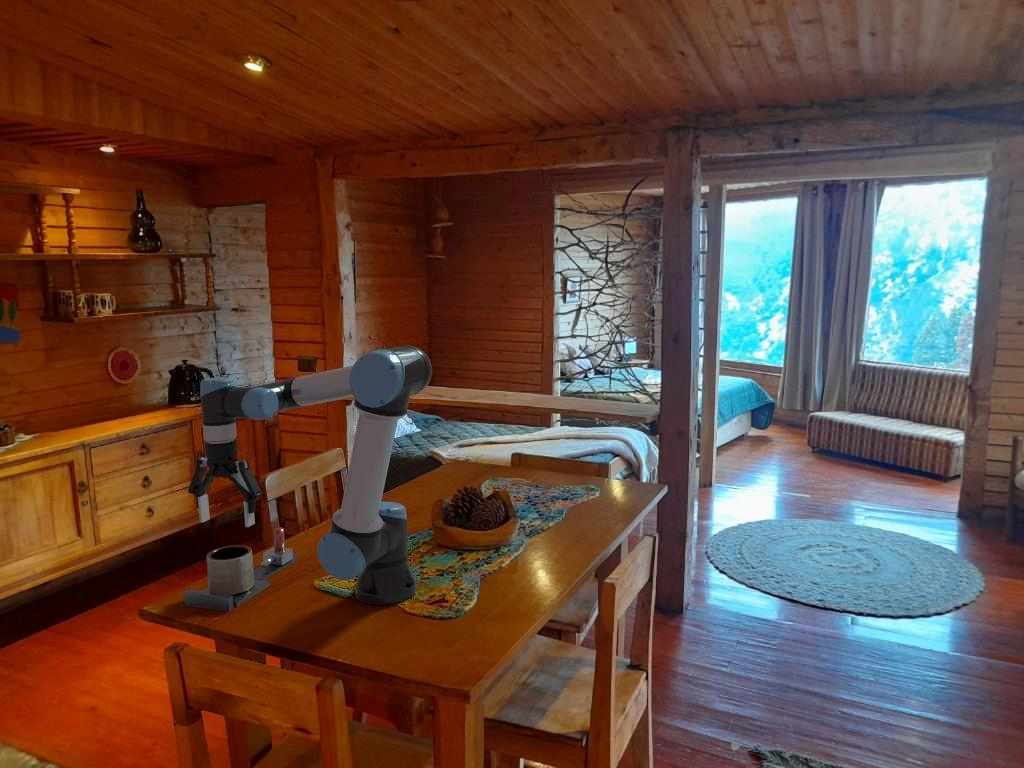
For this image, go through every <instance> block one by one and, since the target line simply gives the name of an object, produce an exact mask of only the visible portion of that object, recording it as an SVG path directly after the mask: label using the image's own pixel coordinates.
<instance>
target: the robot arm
mask: <svg viewBox="0 0 1024 768" xmlns="http://www.w3.org/2000/svg"><path fill="white" fill-rule="evenodd" d="M432 376H433V366H432V362H431V360H430V357H429V356H428V355H427V354H426V353H425V352H424V351H423V350H421V349H420V348H418V347H416V346H413V345H399V346H395V347H390V348H379V349H374V350H372V351H370V352H367V353H365V354H362V355H361V356H360V357H359V358H358V359H357V360H356V361H355V362H354V364H352V365H349V366H345V367H344V366H343V367H340V368H335V369H330V370H325V371H321V372H317V373H316V372H315V373H312V374H308V375H303V376H297V377H293V378H287V379H283V380H278V381H274V382H269V383H266V384H265V383H264V384H260V385H253V386H241V387H240V386H234V383H233V379H232V378H231V377H227V376H226V377H225V376H219V377H209V378H204V379H202V380H201V382H200V383H199V384H200V386H199V387H200V391H199V392H200V394H199V399H200V404H201V416H202V417H201V418H202V430H203V440H204V441H205V443H204V454H205V456H203V457H200V458H197V459H196V461H195V462H196V463H195V464H196V467H195V470H194V473H193V476H192V479H191V482H190V485H189V487H188V491H187V493H188V494H190V495H191V494H192V495H194V497H195V501H196V502H195V503H196V508H197V509H198V515H199V517H198V518H199V523H205V522H207V521H209V520H210V519H211V518H210V517H211V516H210V505H209V504H210V503H209V495H208V494H207V491H208V489H209V488H210V486H211V485H212V483H213V482H214V481H215V479H216V478H217V479H218V478H223V479H228V480H229V481H231V482H232V483H233V484H234V486H235V487H236V488H237V490H238V491H239V492H240V494H241V495H242V496H243V498H244V499H245V500H244V501H243V512H244V513H243V514H244V515H243V516H244V526H245V527H246V528H250V527H251V526H253V525H255V524H256V521H255V520H256V519H255V513H256V512H257V505H256V502H257V501H256V499H258V498H261V497H262V496H263V492H262V490H261V488H260V486H259V484H258V482H257V480H256V478H255V475H254V474H253V472H252V470H251V466H250V462H249V460H248V459H246V458H245V459H244V460H238V453H239V449H238V447H239V446H238V440H237V439H236V438H237V437H238V436H237V424H236V420H237V419H247V420H255V421H259V420H269V419H271V418H272V417H273V416H274V415H275V414H277V413H279V412H284V411H288V410H292V409H297V408H302V407H307V406H313V405H316V404H322V403H327V402H333V401H338V400H344V399H349V398H354V402H353V405H354V408H355V409H356V410H357V412H358V413H359V414H358V419H357V420H358V421H357V423H356V430H355V434H354V438H353V439H354V440H353V445H352V451H351V456H350V461H349V466H348V470H347V476H346V482H345V486H344V492H343V497H342V501H341V502H342V503H341V506H340V507H341V508H339V509H338V510H336V511H334V512H333V515H332V519H331V523H330V529H329V532H328V533H326V534H324V535H323V536H322V537H321V538H320V540H319V541H318V543H317V547H316V552H317V553H316V554H317V557H318V561H319V563H320V565H321V566H322V567H323V569H324V571H325V572H326V573H327V574H328V575H330V576H331V577H332V578H334V579H338V580H341V581H349V580H352V579H354V578H356V577H357V579H356V584H355V587H354V588H355V597H356V599H357V600H358V601H359V602H362V603H363V604H368V605H376V606H378V605H379V606H380V605H381V606H382V605H383V606H385V605H393V604H397V603H400V602H404V601H406V600H408V599H411V598H412V597H413V596H414V595H415V594H416V592H417V582H416V578H415V574H414V573H413V569H412V567H411V564H410V562H409V550H408V549H409V545H408V544H409V543H408V542H409V541H408V518H407V510H406V506H404V505H402V504H401V503H398V502H393V501H382V498H383V494H384V489H385V485H386V479H387V476H388V475H387V474H388V470H389V465H390V460H391V456H392V451H393V446H394V441H395V435H396V431H397V428H398V427H397V426H398V423H399V422H398V421H399V420H400V419H402V418H403V417H405V416H406V415H407V412H408V407H409V402H410V399H411V397H412V396H415V395H417V394H419V393H421V392H423V390H425V389H426V388H427V386H428V385H429V384H430V382H431V379H432ZM207 467H208V468H207ZM207 469H208V471H207V472H206V470H207ZM205 473H206V474H205ZM204 476H205V477H204ZM245 527H244V528H245ZM411 596H412V597H411Z"/></svg>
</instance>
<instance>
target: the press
mask: <svg viewBox="0 0 1024 768" xmlns="http://www.w3.org/2000/svg"><path fill="white" fill-rule="evenodd" d="M299 559H301V557H300V555H293V559H292V560H290V561H288V562H287V563H285V564H284V565H275V564H270V565H269V566H267V567H266V568H263V567H261V565H258V567H256V568H253V569H254V581H255V582H254V586H253V587H252V588H251V589H249V590H248V591H246V592H244V593H242V594H238V595H234V596H232V595H225V594H218V593H211V592H210V591H209V586H207V587H206V588H205V589H203V590H194V589H189V588H188V589H186V590H185V591H183V594H184V595H183V597H184V605H185V606H186V607H187V606H188V607H193V608H198V609H199V608H200V609H207V610H215V611H221V612H228V613H230V612H232V611H233V610H234V607H235V608H237V607H240V606H241V605H242V604H244V603H245V602H247V601H249V600H250V599H251V598H254V597H255V596H256V595H258V594H259V593H261V592H262V591H264V590H265V589H267V588H269V587H270V585H271V584H270V581H269V580H268V579H269V578H270V579H271V577H273V576H275V575H276V574H277V573H279V572H280V571H282V570H284V569H285V568H287V567H288V566H290V565H292V564H293V563H295V562H296V561H298V560H299Z"/></svg>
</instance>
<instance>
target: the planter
mask: <svg viewBox="0 0 1024 768" xmlns="http://www.w3.org/2000/svg"><path fill="white" fill-rule="evenodd" d="M253 559H254V558H253V550H252V548H251V547H250V546H247V545H241V544H234V545H227V546H226V545H225V546H222V547H219V548H214V549H213V550H211V551H209V552H208V553H207V554H206V565H207V582H208V587H209V591H210V592H211V593H218V594H225V595H232V596H234V595H238V594H242V593H244V592H246V591H248V590H249V589H251V588H252V587H253V586H254V582H255V581H254V569H255V568H254V560H253Z"/></svg>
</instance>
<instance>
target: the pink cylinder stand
mask: <svg viewBox="0 0 1024 768" xmlns="http://www.w3.org/2000/svg"><path fill="white" fill-rule="evenodd" d="M272 531H273V532H272V533H273V544H274V545H273V547H271V548H270V549H268V550H266V551H265V552H262V559H263V561H261V562H260V566H261V567H263V568H266V567H267V566H269V565H270V564H275V565H284V564H285V563H287V562H288V561H290V560H292V559H293V552H294V551H293V548H289V547H286V545H285V543H286V542H285V541H286V540H285V528H284V527H281V526H279V527H275V528H273V530H272Z"/></svg>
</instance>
